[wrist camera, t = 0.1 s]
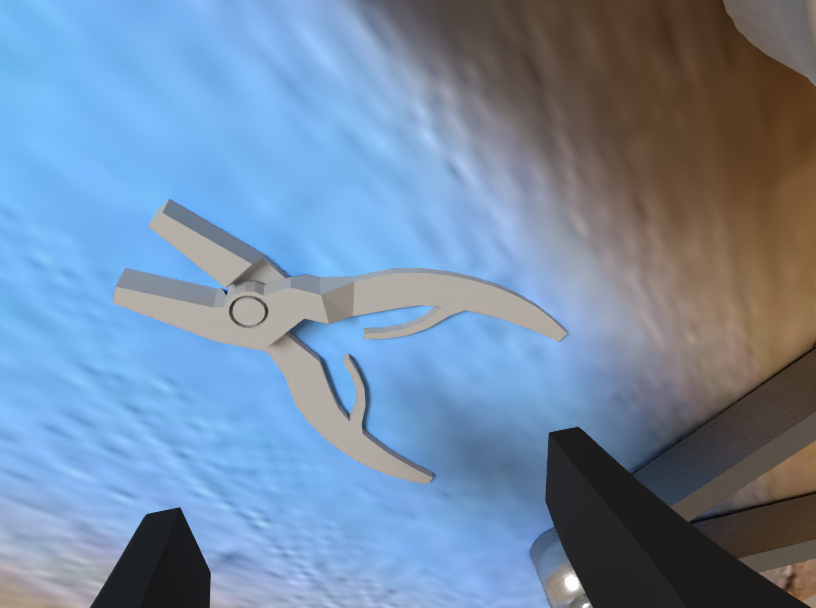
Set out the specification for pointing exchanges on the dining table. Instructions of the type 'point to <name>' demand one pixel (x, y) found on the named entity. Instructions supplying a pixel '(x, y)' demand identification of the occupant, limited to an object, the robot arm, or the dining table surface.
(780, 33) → the ramekin
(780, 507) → the tongs frame
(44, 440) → the dining table surface
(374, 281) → the pliers
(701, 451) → the arm
